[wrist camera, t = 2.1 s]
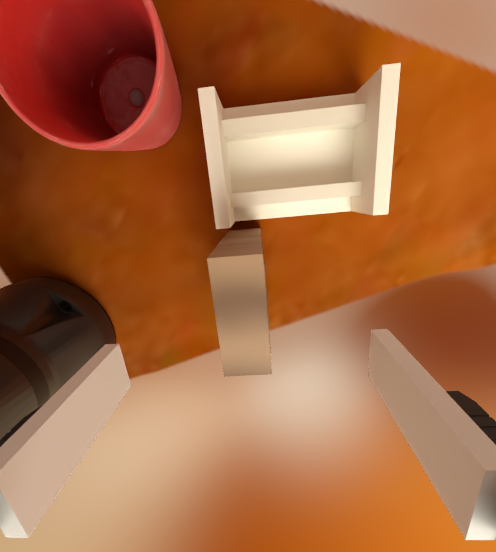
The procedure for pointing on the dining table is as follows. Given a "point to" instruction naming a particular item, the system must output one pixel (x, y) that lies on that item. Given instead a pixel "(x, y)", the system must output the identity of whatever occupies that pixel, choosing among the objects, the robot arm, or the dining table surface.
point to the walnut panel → (241, 302)
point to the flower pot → (89, 72)
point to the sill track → (302, 153)
